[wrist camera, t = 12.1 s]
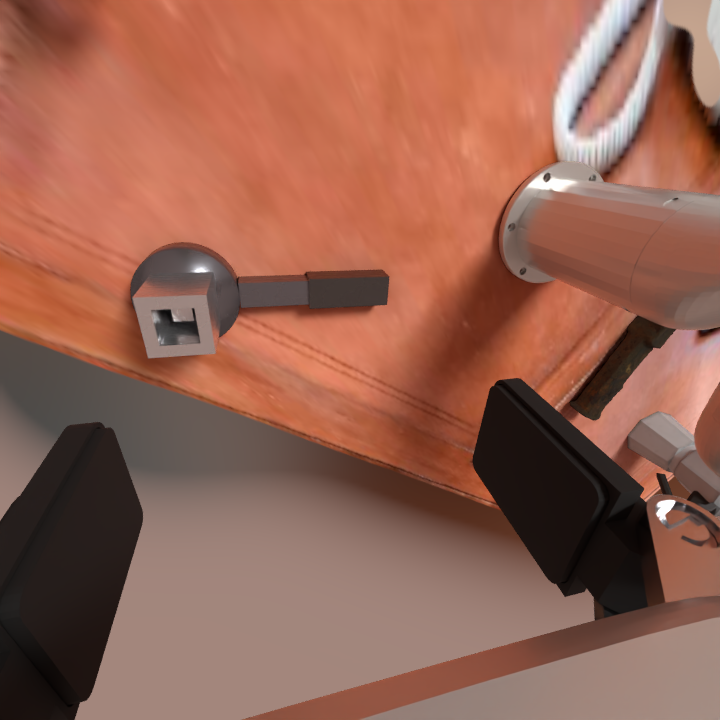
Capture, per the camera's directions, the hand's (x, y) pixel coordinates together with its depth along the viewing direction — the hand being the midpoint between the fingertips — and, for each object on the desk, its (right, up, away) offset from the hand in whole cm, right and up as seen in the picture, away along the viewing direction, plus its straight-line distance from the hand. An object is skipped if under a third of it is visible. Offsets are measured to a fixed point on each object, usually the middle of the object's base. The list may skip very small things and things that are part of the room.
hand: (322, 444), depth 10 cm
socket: (-15, +8, +24) cm, 29 cm away
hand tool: (+37, +3, +45) cm, 58 cm away
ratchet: (-8, +9, +28) cm, 31 cm away
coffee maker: (+50, -11, +57) cm, 77 cm away
